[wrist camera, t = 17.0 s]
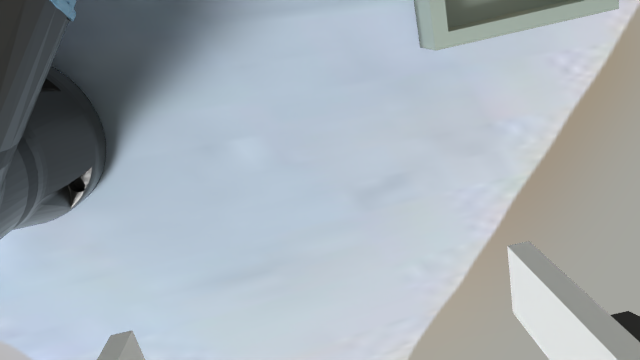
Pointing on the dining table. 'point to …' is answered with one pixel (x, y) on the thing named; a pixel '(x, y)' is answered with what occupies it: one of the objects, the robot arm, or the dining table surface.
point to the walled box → (494, 18)
